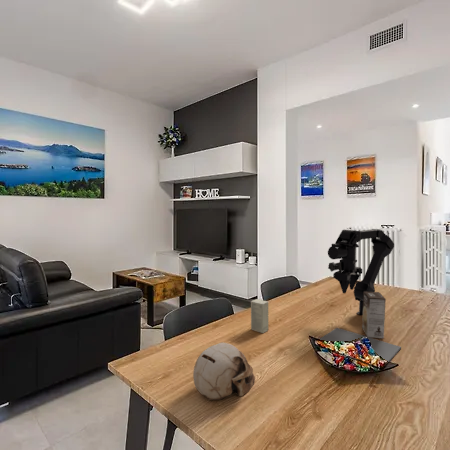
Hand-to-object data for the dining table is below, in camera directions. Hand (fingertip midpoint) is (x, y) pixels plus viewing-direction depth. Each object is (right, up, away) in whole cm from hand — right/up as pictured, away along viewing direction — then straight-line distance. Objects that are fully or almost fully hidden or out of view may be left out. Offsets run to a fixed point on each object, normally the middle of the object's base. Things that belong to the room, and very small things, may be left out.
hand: (347, 291), depth 136 cm
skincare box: (-42, -14, -12) cm, 46 cm away
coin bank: (-56, -16, -52) cm, 77 cm away
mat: (-8, -14, -26) cm, 31 cm away
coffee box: (+4, -14, -14) cm, 21 cm away
